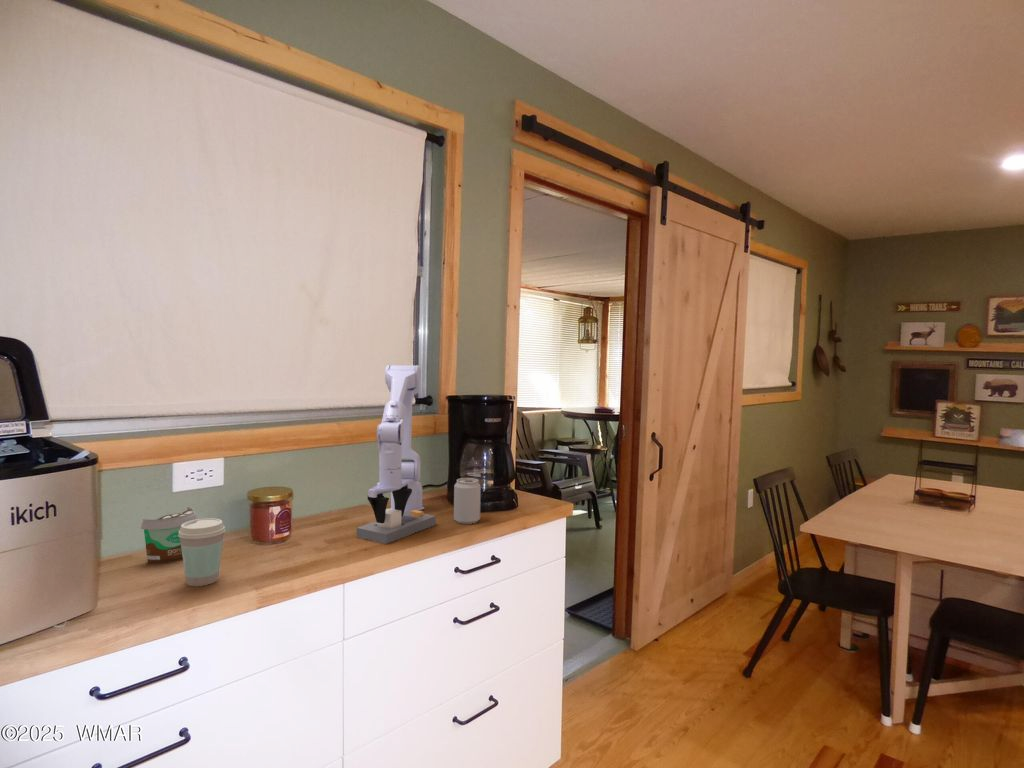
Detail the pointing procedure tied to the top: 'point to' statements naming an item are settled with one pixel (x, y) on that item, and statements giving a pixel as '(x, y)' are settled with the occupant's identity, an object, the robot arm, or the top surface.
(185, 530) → the coffee cup
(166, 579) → the top surface
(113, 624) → the top surface
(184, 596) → the top surface
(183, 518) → the food container
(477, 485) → the can
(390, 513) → the plug
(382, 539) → the grey slotted holder
